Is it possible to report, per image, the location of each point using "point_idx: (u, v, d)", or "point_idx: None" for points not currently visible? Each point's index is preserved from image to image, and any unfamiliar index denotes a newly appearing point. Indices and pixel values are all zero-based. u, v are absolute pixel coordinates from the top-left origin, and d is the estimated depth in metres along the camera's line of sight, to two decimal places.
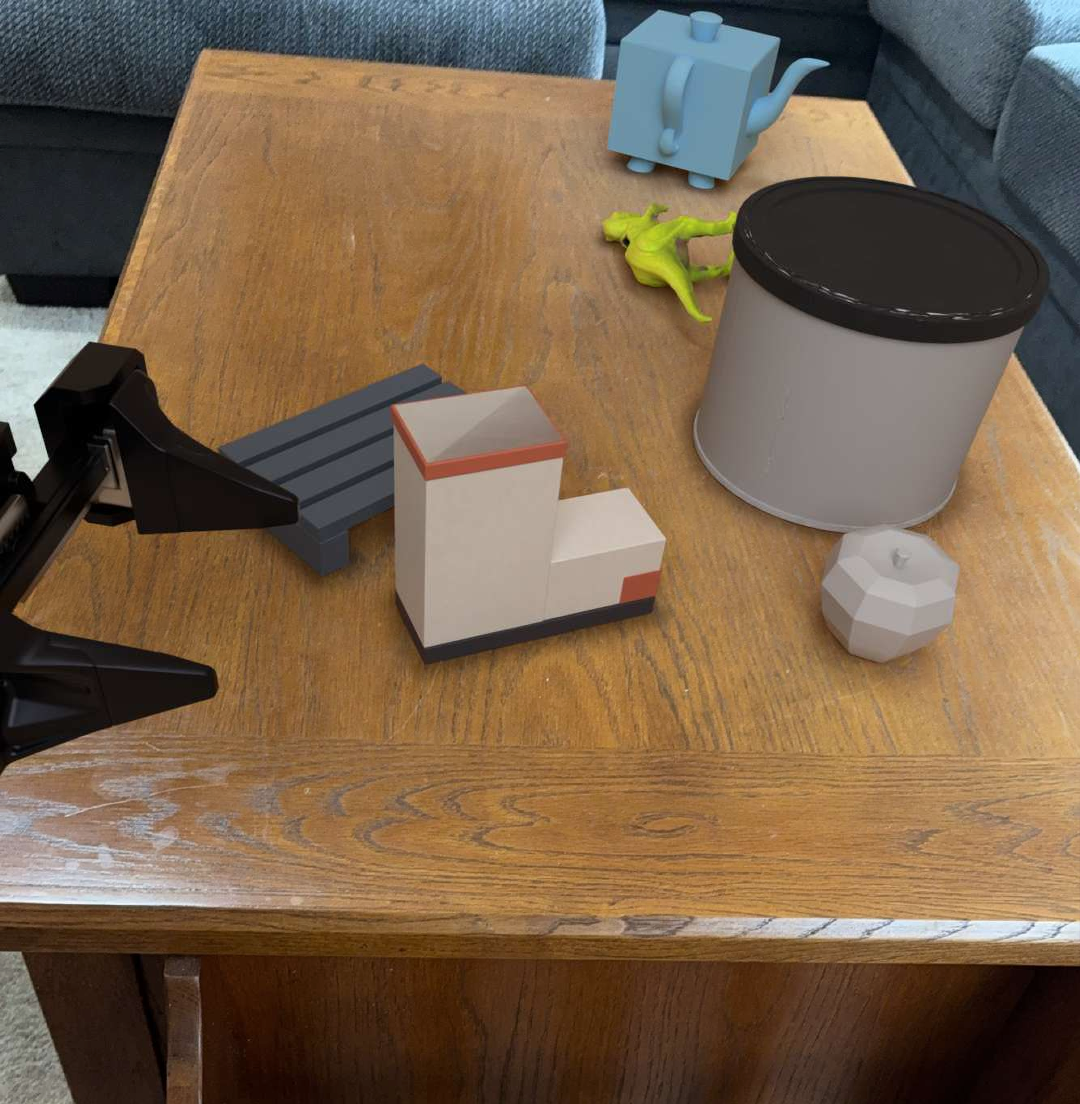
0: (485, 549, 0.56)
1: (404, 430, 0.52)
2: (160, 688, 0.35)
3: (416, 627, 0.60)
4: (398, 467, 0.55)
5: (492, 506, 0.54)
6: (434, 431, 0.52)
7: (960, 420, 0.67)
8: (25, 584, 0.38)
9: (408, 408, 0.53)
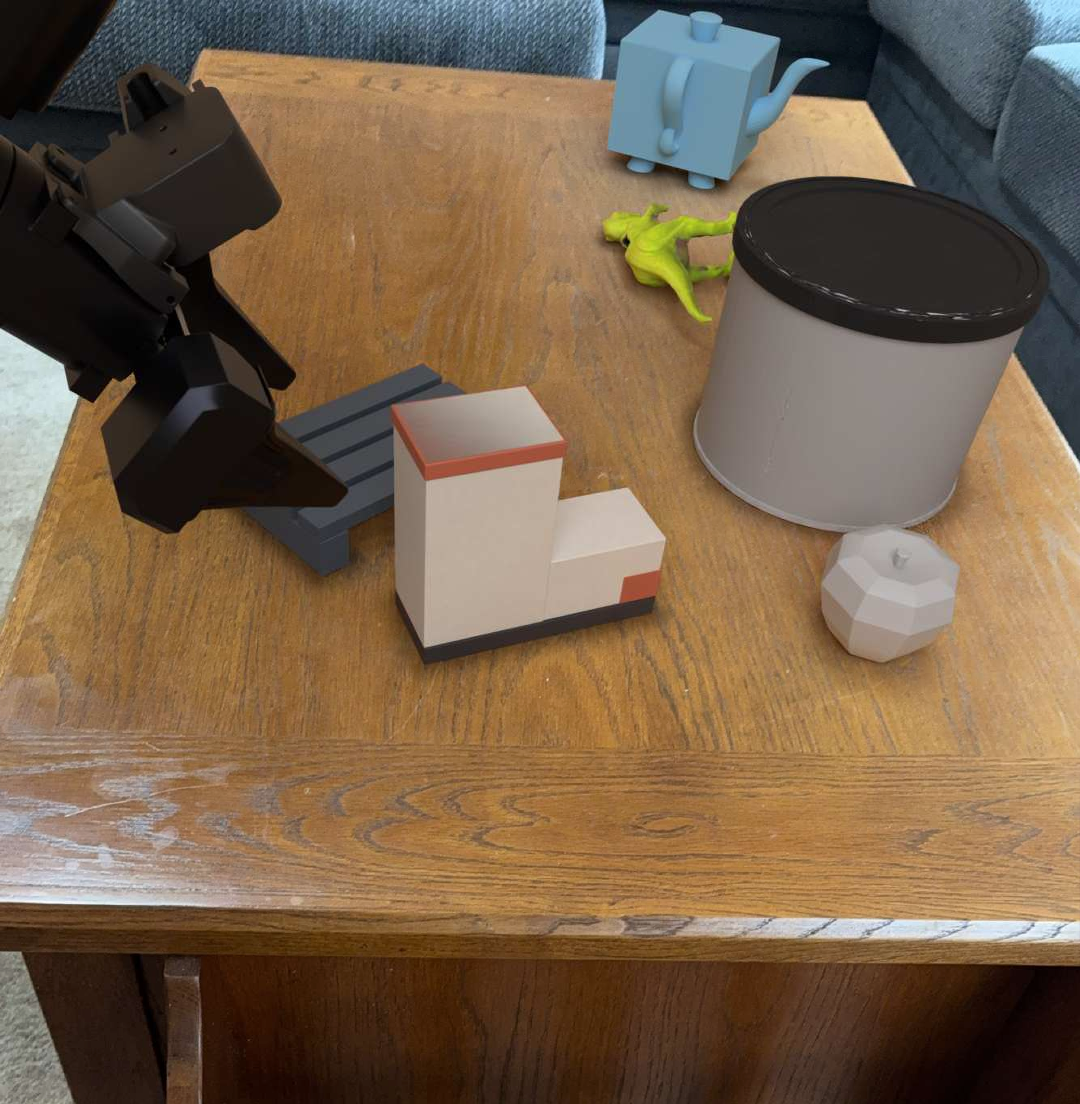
0: (485, 549, 0.56)
1: (404, 430, 0.52)
2: (317, 488, 0.45)
3: (416, 627, 0.60)
4: (398, 467, 0.55)
5: (492, 506, 0.54)
6: (433, 431, 0.52)
7: (960, 420, 0.67)
8: None
9: (408, 408, 0.53)
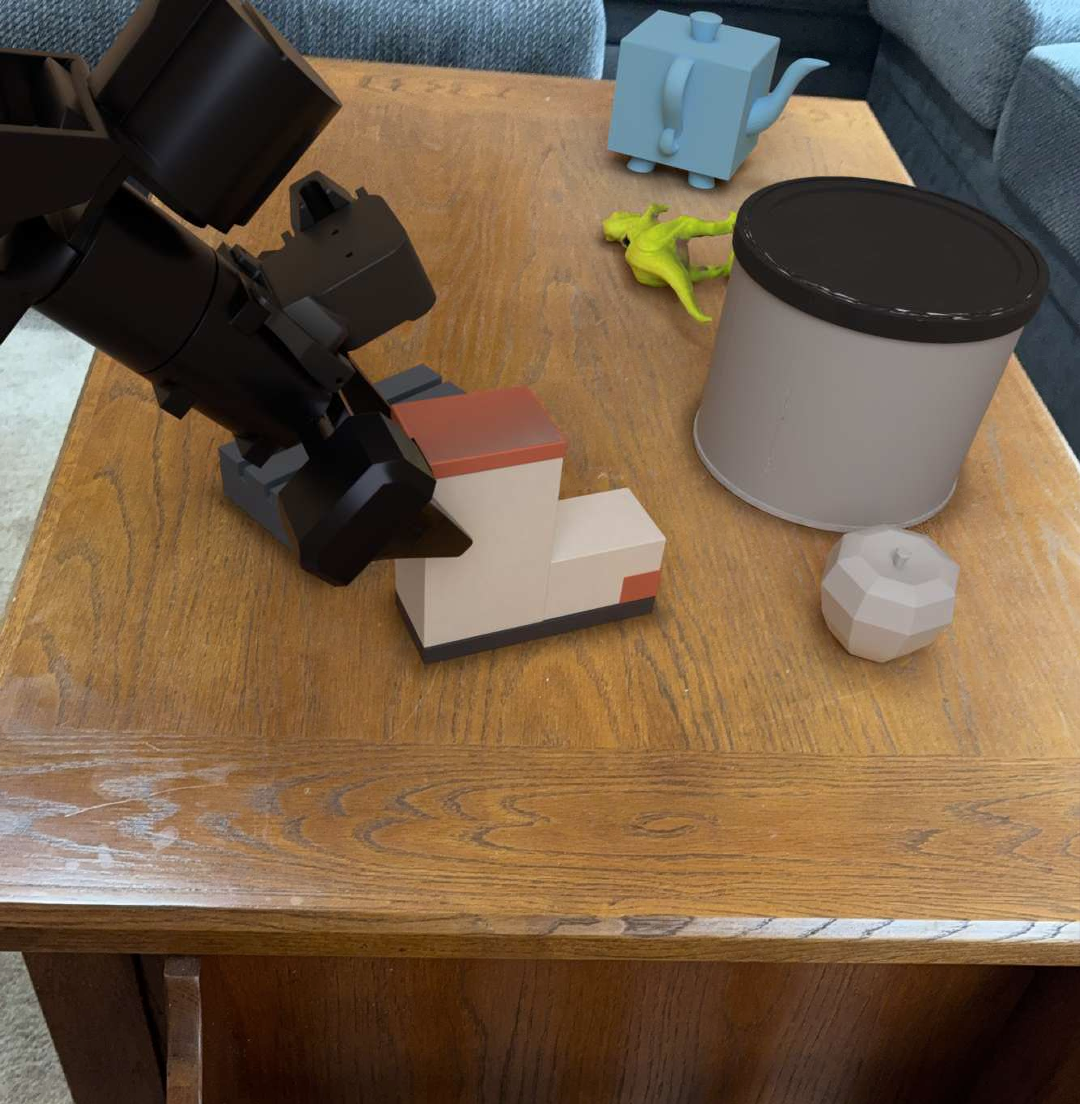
0: (485, 549, 0.56)
1: (404, 430, 0.52)
2: (449, 542, 0.51)
3: (416, 627, 0.60)
4: None
5: (492, 506, 0.54)
6: (433, 431, 0.52)
7: (960, 420, 0.67)
8: None
9: (408, 408, 0.53)
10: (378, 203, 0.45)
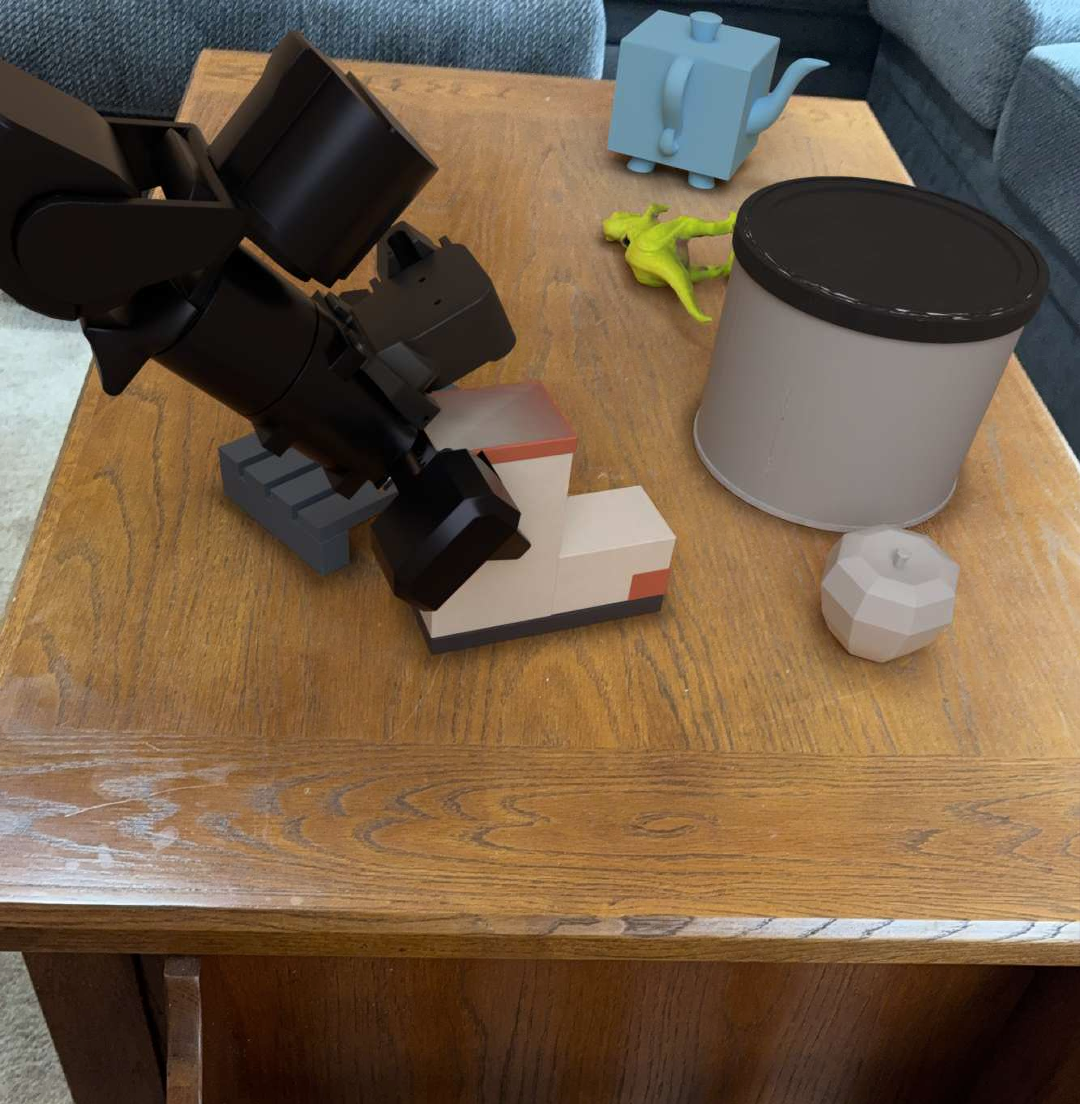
0: None
1: None
2: (510, 545, 0.55)
3: (424, 617, 0.60)
4: None
5: None
6: (445, 423, 0.53)
7: (960, 420, 0.67)
8: None
9: None
10: (462, 252, 0.48)
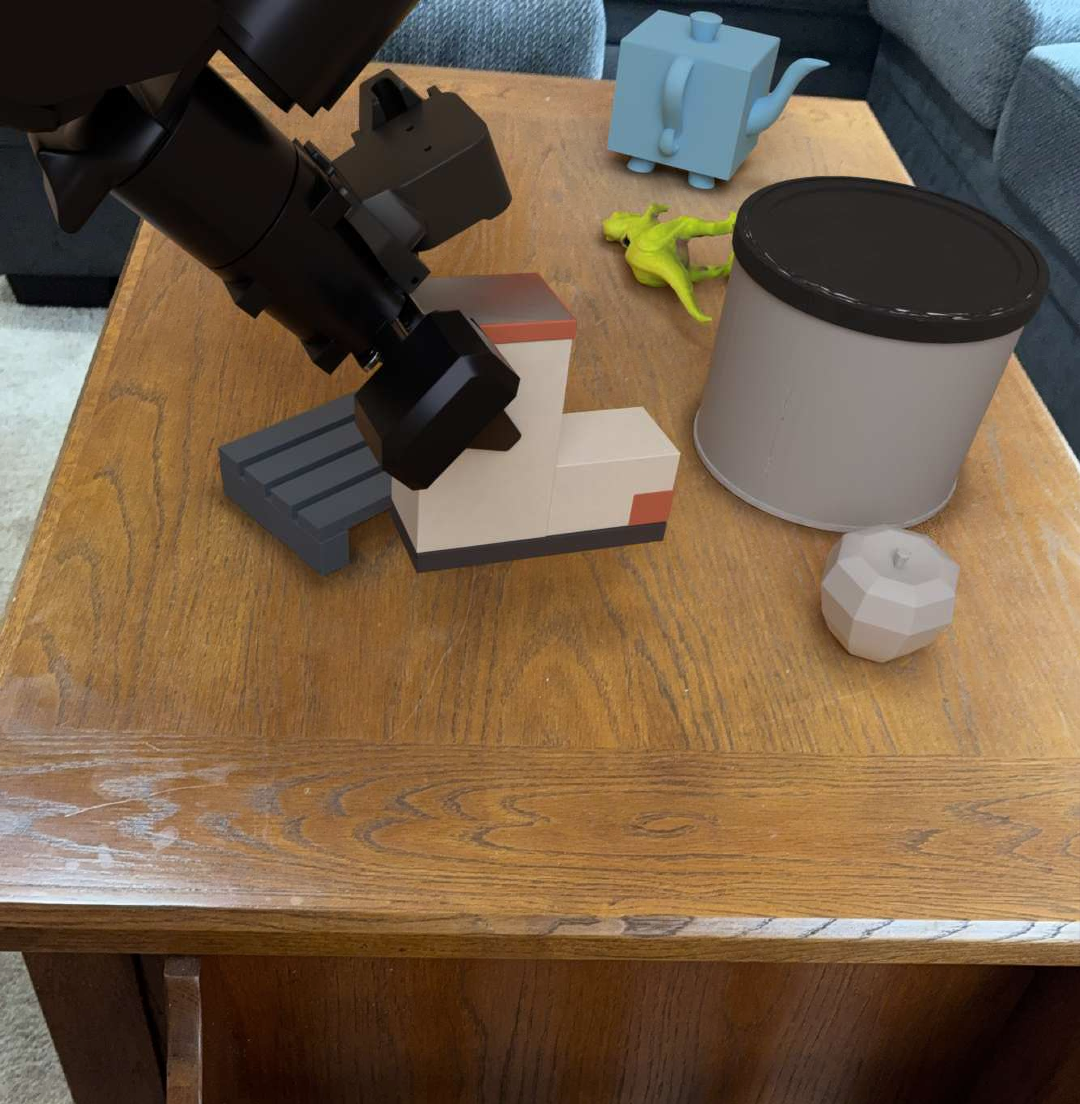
0: None
1: None
2: (499, 433, 0.51)
3: (410, 532, 0.56)
4: None
5: None
6: (435, 302, 0.49)
7: (960, 420, 0.67)
8: None
9: None
10: (453, 100, 0.44)
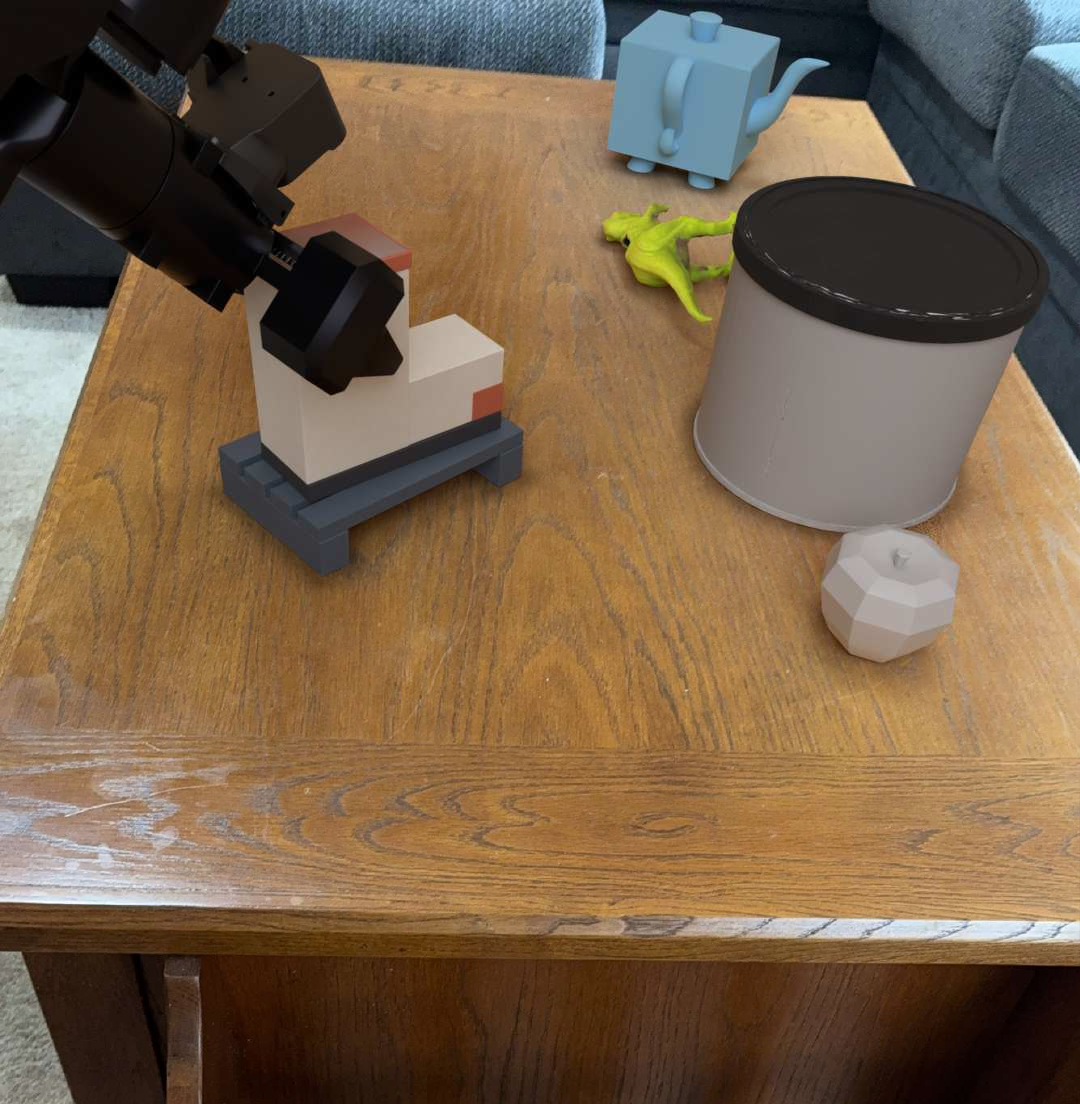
0: None
1: None
2: (388, 358, 0.57)
3: (294, 468, 0.62)
4: (252, 306, 0.58)
5: None
6: None
7: (960, 420, 0.67)
8: None
9: None
10: (275, 49, 0.50)
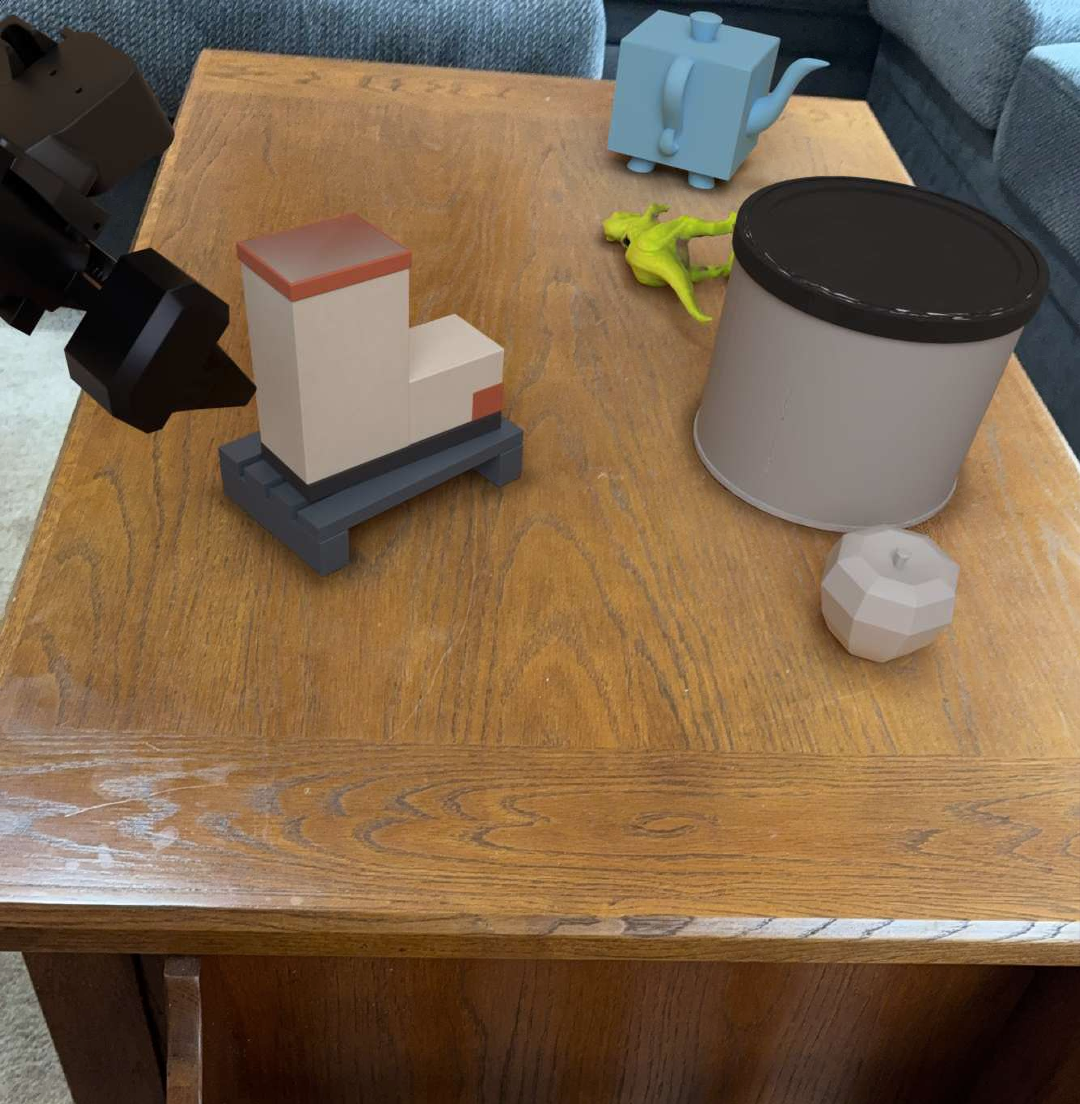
0: (351, 372, 0.59)
1: (257, 261, 0.55)
2: (236, 388, 0.51)
3: (294, 468, 0.62)
4: (252, 306, 0.58)
5: (353, 325, 0.57)
6: (286, 258, 0.55)
7: (960, 420, 0.67)
8: None
9: (253, 243, 0.56)
10: (91, 39, 0.44)
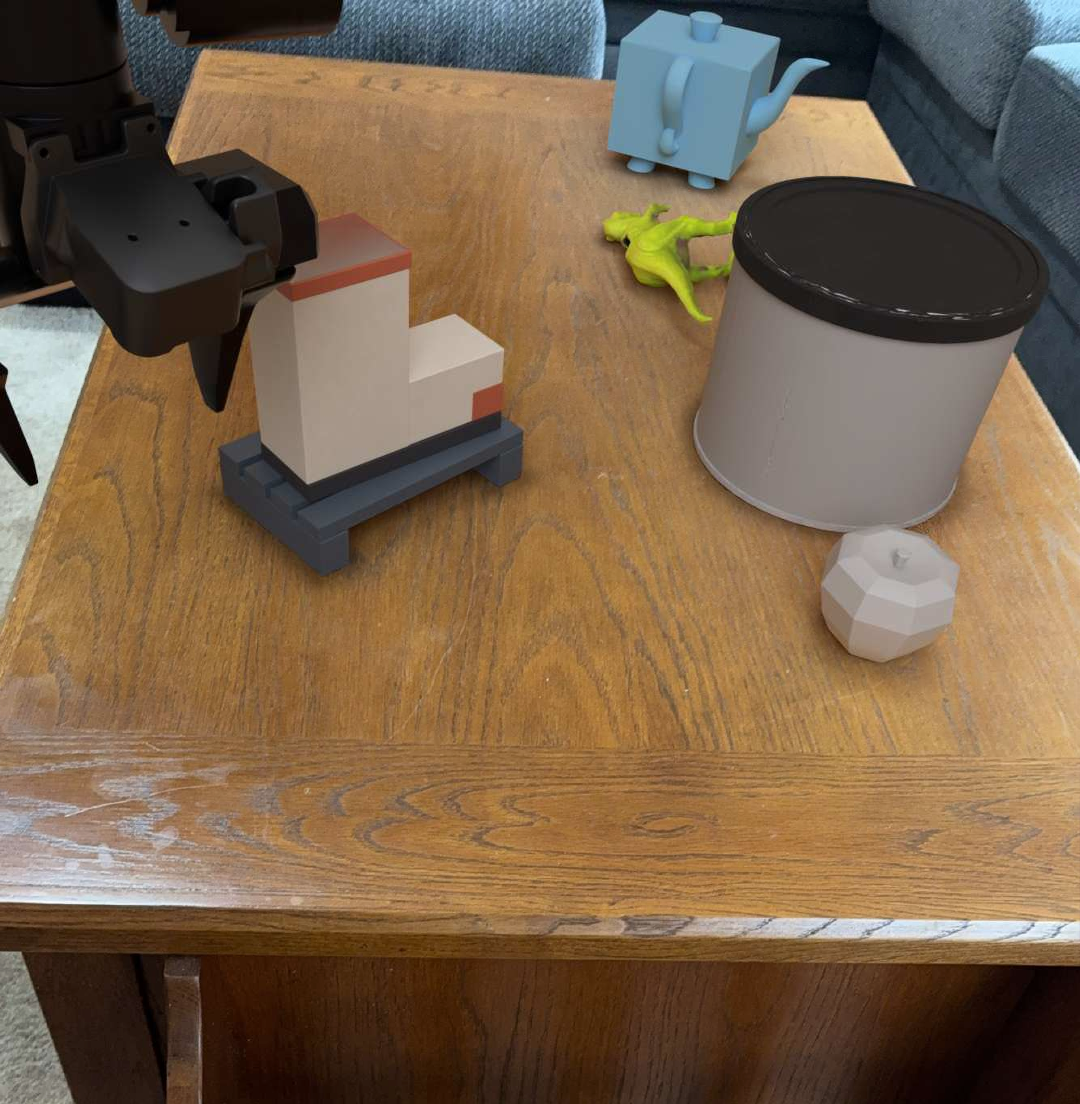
0: (351, 372, 0.59)
1: None
2: (5, 455, 0.46)
3: (294, 468, 0.62)
4: None
5: (353, 325, 0.57)
6: None
7: (960, 420, 0.67)
8: None
9: None
10: (225, 264, 0.38)
